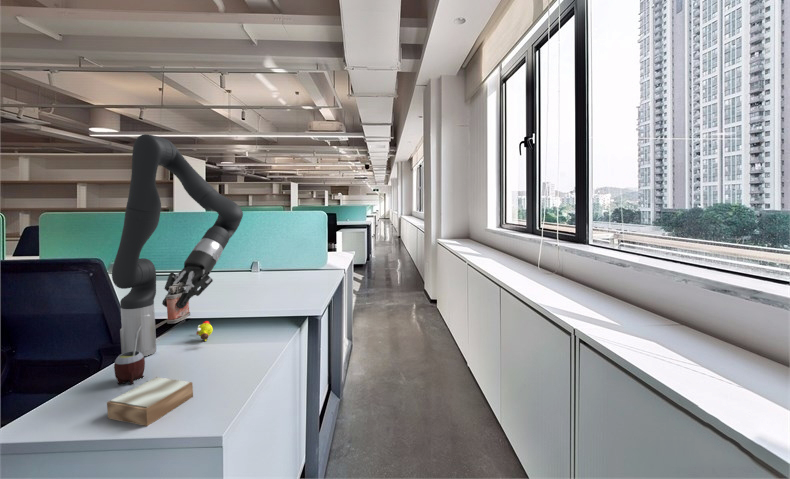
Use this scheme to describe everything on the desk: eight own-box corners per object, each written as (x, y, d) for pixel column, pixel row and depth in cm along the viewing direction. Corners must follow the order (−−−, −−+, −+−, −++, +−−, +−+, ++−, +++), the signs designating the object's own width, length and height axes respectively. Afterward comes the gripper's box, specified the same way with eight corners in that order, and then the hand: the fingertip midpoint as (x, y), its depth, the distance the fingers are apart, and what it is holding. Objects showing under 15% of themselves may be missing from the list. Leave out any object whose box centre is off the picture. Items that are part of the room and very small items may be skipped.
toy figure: (198, 334, 138) (197, 317, 138) (213, 332, 141) (212, 316, 140) (195, 350, 122) (194, 332, 122) (212, 347, 125) (212, 329, 124)
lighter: (176, 323, 92) (174, 286, 91) (163, 323, 92) (161, 286, 91) (193, 314, 100) (191, 280, 99) (181, 314, 100) (179, 280, 99)
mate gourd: (116, 389, 96) (113, 337, 94) (113, 379, 101) (110, 330, 100) (149, 380, 101) (146, 331, 99) (144, 371, 106) (142, 324, 105)
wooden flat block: (108, 418, 82) (106, 401, 82) (157, 390, 95) (156, 375, 95) (147, 426, 79) (146, 408, 79) (193, 396, 92) (192, 381, 92)
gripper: (177, 248, 103) (141, 297, 92) (217, 249, 100) (185, 301, 89) (192, 263, 109) (160, 311, 98) (230, 265, 105) (201, 315, 95)
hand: (172, 306), depth 94 cm, fingers closed on lighter, 4 cm apart
